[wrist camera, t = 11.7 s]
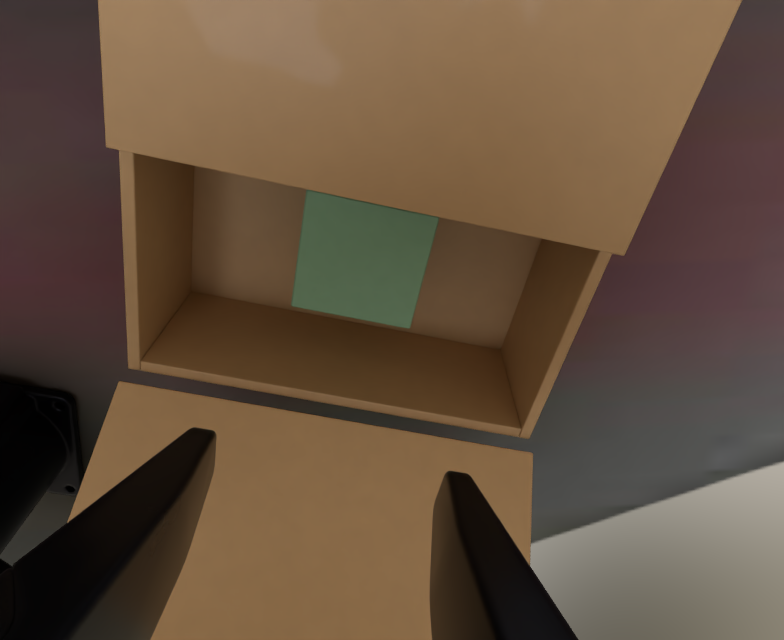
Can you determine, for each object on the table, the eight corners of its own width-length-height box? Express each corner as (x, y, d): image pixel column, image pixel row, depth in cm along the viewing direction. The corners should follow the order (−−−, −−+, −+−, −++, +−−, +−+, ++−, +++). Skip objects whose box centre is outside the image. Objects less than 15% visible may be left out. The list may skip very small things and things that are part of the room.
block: (434, 178, 20) (440, 217, 16) (409, 277, 22) (410, 329, 18) (323, 155, 19) (306, 189, 16) (308, 257, 21) (290, 306, 18)
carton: (505, 353, 24) (533, 456, 19) (184, 292, 23) (116, 383, 17) (656, -46, 17) (776, -67, 11) (193, -167, 15) (80, -256, 10)
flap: (533, 452, 19) (529, 455, 19) (118, 380, 17) (122, 383, 18) (526, 710, 15) (521, 706, 16) (22, 643, 14) (29, 641, 15)
